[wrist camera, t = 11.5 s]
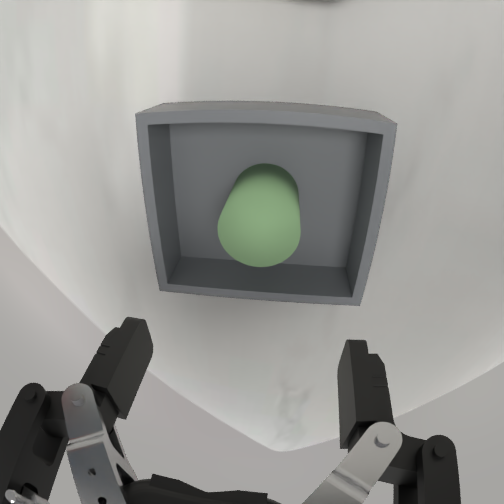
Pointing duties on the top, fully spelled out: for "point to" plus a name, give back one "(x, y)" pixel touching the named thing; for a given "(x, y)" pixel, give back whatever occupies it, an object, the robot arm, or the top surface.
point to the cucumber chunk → (261, 216)
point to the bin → (272, 152)
